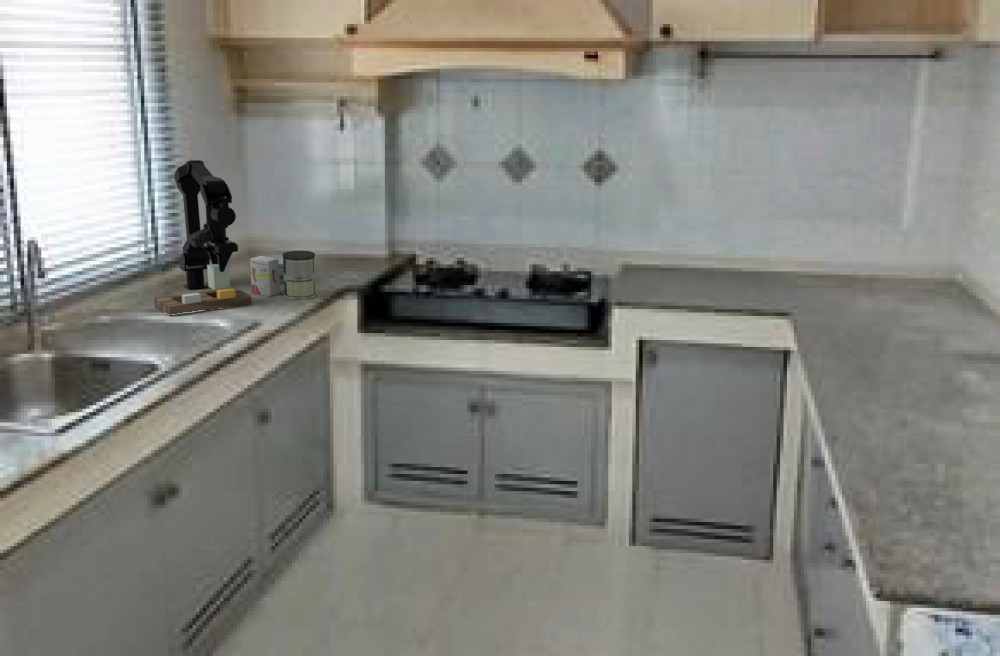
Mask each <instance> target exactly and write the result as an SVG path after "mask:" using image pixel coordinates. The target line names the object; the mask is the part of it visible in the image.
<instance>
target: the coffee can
mask: <svg viewBox="0 0 1000 656" xmlns="http://www.w3.org/2000/svg"><path fill="white" fill-rule="evenodd" d="M281 256H283V269H284V282H283V288H284V291H283V292H284V298H286V299H288V300H298V299H299V300H308V299H312V298H315V297H316V296H317V294H316V291H317V290H316V261H315V258H316V257H315V256H316V253H315V252H313V251H309V250H289V251H285V252H283V253H282V255H281Z"/></svg>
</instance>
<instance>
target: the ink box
mask: <svg viewBox="0 0 1000 656" xmlns="http://www.w3.org/2000/svg"><path fill="white" fill-rule="evenodd" d="M266 256H267V255H259V256H255V257H252V258H250V260H249V261H250V275H251V276H250V278H251V279H250V280H251V281H250V284H251V293H252V294H255V295H261V296H267V297H273V296H276V295H280V294H281V292H280V290H281V289H280V283H279V260H277V259H276V258H271V257H266Z"/></svg>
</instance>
